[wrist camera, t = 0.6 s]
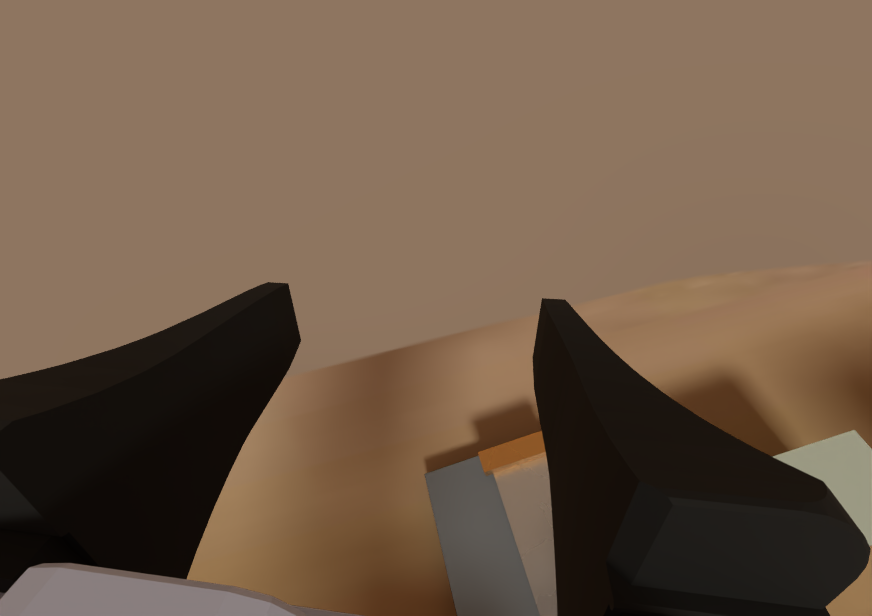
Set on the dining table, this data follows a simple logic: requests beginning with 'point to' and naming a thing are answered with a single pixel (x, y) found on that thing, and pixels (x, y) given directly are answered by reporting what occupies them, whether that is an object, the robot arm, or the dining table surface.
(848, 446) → the block
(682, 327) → the dining table surface
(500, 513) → the mounting board
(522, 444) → the rail
